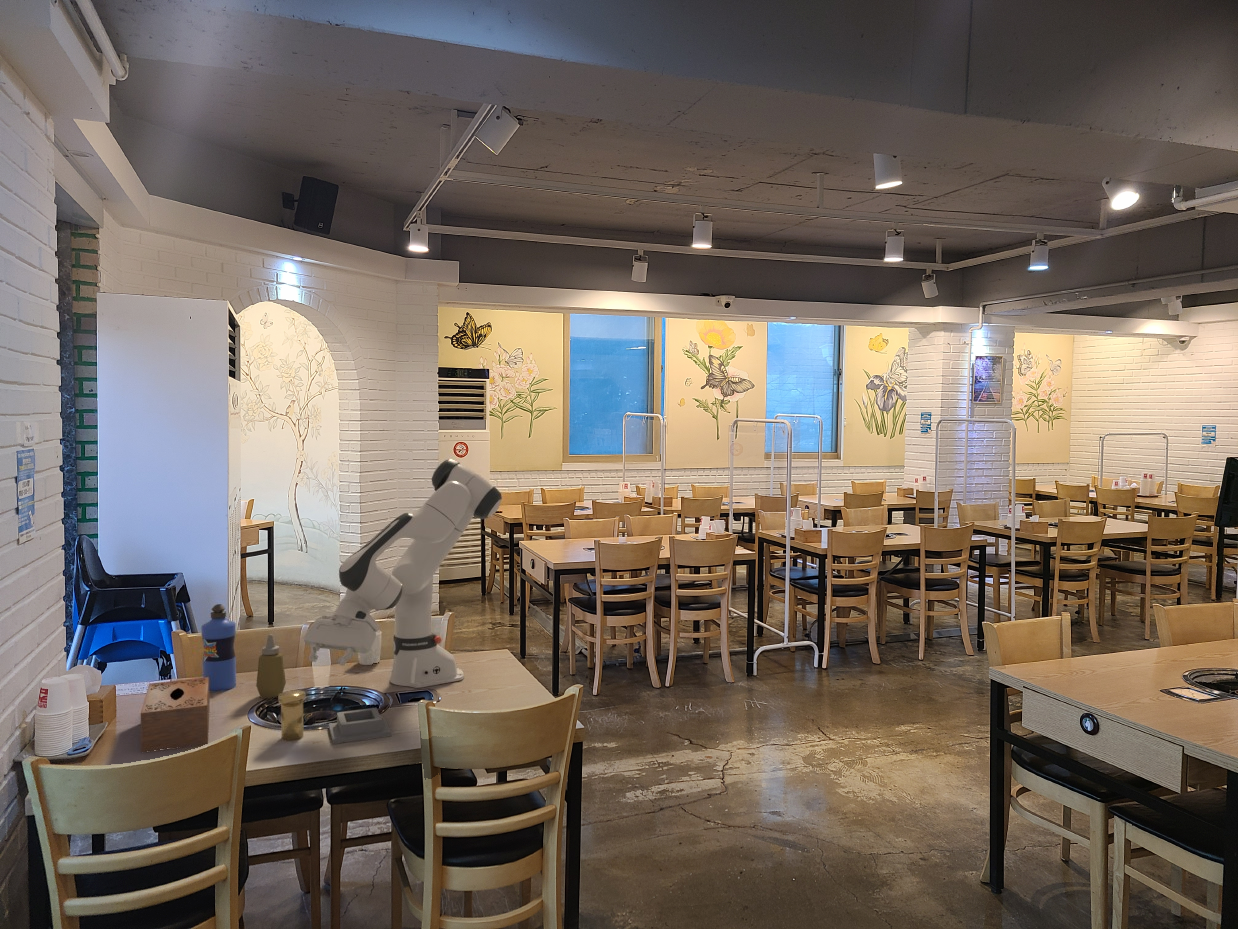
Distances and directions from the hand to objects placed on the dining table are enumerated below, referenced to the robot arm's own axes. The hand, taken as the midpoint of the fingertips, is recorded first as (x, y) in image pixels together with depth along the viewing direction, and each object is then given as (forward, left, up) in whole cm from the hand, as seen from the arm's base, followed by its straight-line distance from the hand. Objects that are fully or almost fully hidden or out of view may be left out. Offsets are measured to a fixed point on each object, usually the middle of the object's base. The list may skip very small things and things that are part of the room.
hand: (325, 662), depth 226 cm
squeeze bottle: (+13, -28, -16) cm, 35 cm away
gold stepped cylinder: (+9, +9, -16) cm, 20 cm away
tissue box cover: (+36, -7, -16) cm, 40 cm away
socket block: (-7, +12, -16) cm, 21 cm away
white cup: (-18, -53, -16) cm, 59 cm away
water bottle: (+27, -43, -16) cm, 54 cm away
